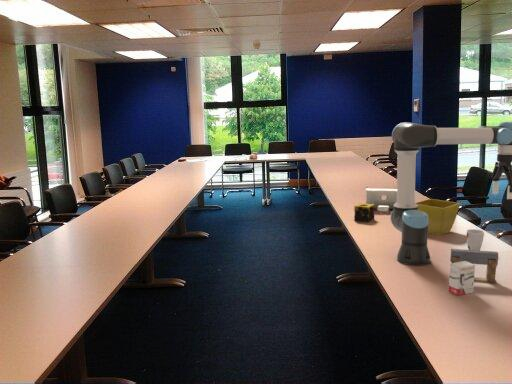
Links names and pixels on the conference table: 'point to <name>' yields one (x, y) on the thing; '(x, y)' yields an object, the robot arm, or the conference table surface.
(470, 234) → the cup
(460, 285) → the ink box
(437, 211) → the flower pot
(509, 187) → the robot arm
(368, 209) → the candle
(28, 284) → the conference table surface
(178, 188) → the conference table surface
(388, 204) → the portable electronic device stand
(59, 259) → the conference table surface
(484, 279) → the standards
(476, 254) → the rail
